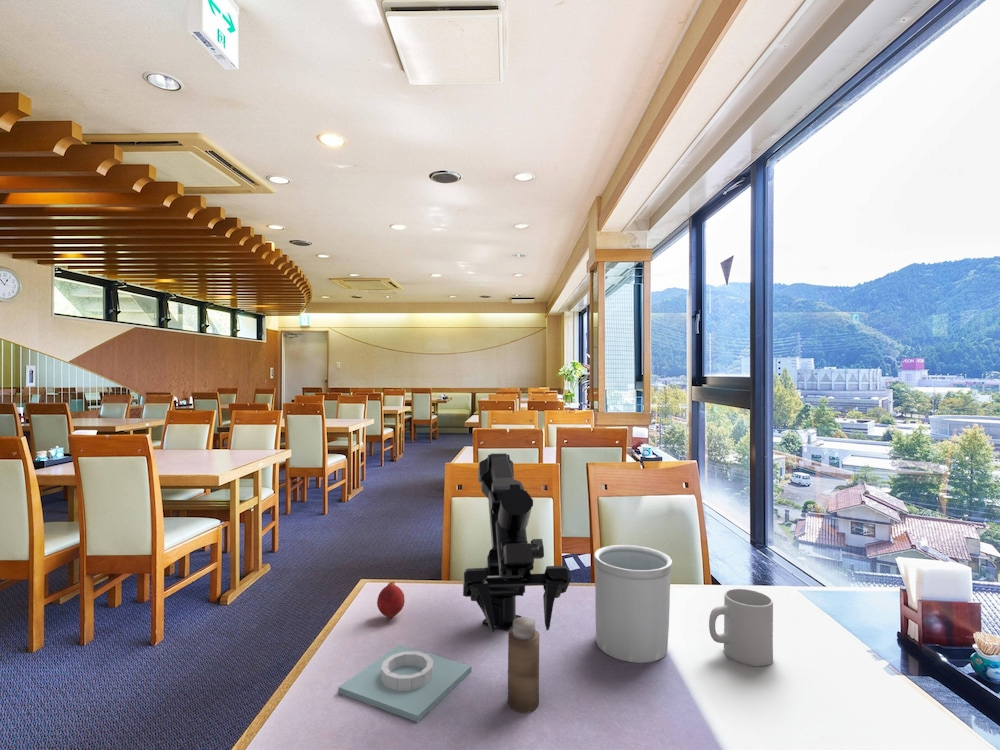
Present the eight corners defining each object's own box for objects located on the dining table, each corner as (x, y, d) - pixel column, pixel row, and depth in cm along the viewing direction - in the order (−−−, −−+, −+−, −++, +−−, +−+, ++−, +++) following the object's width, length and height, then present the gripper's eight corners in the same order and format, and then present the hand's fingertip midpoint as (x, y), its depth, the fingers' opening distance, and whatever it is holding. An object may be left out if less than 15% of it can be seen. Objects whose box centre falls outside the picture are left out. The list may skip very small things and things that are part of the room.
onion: (398, 625, 113) (398, 587, 113) (372, 622, 114) (372, 585, 114) (408, 613, 118) (408, 577, 119) (383, 611, 120) (384, 575, 120)
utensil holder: (682, 666, 98) (683, 569, 98) (601, 665, 98) (602, 569, 98) (658, 628, 113) (658, 544, 113) (587, 627, 113) (588, 544, 113)
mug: (755, 642, 107) (755, 587, 107) (783, 665, 99) (783, 605, 99) (698, 646, 106) (698, 589, 106) (721, 669, 97) (722, 608, 97)
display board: (398, 649, 103) (399, 634, 103) (471, 671, 95) (471, 654, 95) (338, 693, 89) (338, 674, 89) (417, 722, 81) (418, 702, 81)
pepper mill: (515, 690, 90) (516, 612, 90) (543, 699, 87) (544, 619, 88) (502, 706, 85) (503, 624, 85) (531, 716, 83) (531, 631, 83)
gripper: (464, 522, 94) (467, 613, 83) (568, 520, 96) (584, 608, 85) (461, 553, 102) (464, 640, 91) (558, 551, 104) (572, 635, 93)
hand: (520, 630), depth 90 cm, fingers open, 9 cm apart
